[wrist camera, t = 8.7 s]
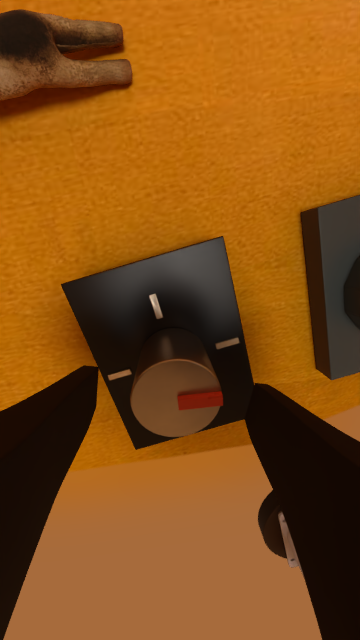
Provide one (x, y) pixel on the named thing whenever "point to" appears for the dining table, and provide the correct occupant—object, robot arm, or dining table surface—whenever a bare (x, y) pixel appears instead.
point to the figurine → (55, 53)
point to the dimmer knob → (175, 384)
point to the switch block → (334, 284)
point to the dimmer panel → (165, 324)
